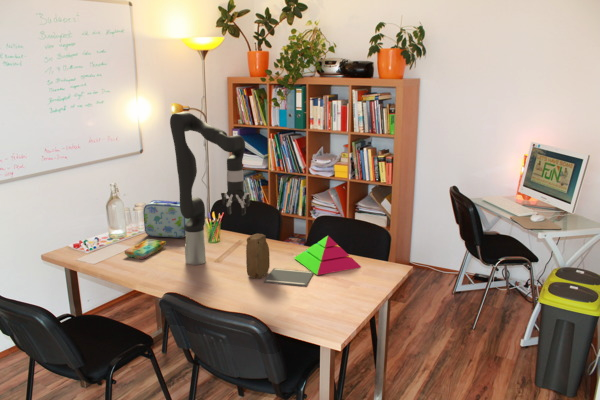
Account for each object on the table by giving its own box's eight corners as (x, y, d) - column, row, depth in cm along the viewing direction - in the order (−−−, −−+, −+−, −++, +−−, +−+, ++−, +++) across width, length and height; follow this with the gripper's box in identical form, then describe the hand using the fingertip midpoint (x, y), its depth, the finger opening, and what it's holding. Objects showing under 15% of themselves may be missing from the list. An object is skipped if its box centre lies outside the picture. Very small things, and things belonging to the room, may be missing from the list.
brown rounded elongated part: (256, 280, 247) (255, 239, 242) (245, 276, 252) (243, 236, 246) (272, 273, 255) (271, 233, 250) (260, 269, 260) (259, 230, 255)
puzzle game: (124, 249, 276) (148, 237, 294) (125, 257, 277) (148, 245, 295) (143, 252, 272) (166, 239, 290) (143, 260, 273) (166, 247, 291)
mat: (263, 282, 245) (263, 281, 245) (273, 269, 260) (273, 268, 260) (306, 286, 240) (306, 285, 240) (313, 272, 255) (313, 271, 255)
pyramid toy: (336, 251, 284) (337, 225, 280) (361, 267, 262) (363, 239, 258) (293, 257, 273) (294, 231, 269) (317, 275, 251) (317, 246, 248)
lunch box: (193, 233, 313) (191, 199, 308) (186, 239, 303) (184, 204, 298) (151, 231, 318) (149, 197, 312) (143, 237, 307) (140, 202, 302)
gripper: (217, 180, 242) (219, 215, 246) (247, 181, 238) (248, 217, 243) (223, 176, 249) (225, 211, 253) (252, 178, 245) (253, 213, 250)
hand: (236, 214), depth 248 cm, fingers open, 6 cm apart
